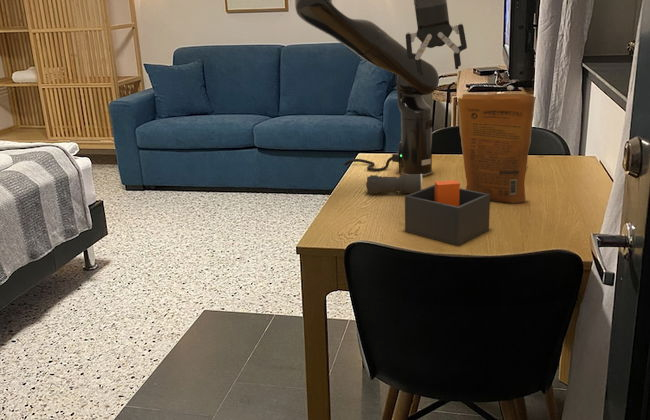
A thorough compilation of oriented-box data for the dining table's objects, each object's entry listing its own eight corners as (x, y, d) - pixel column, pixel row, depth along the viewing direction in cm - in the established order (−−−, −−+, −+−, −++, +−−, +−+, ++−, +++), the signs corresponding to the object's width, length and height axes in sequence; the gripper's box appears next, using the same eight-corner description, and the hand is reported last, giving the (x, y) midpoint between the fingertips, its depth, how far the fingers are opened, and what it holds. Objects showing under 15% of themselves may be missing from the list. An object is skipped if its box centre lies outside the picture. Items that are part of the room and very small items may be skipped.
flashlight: (365, 196, 181) (365, 177, 179) (367, 191, 186) (366, 172, 184) (422, 196, 179) (422, 177, 177) (422, 190, 184) (422, 171, 182)
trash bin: (404, 231, 154) (404, 196, 151) (436, 217, 162) (437, 183, 159) (458, 245, 144) (458, 208, 141) (489, 229, 152) (490, 194, 150)
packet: (437, 231, 151) (437, 184, 148) (434, 226, 154) (434, 181, 151) (458, 229, 152) (459, 183, 148) (455, 225, 154) (456, 179, 151)
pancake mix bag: (526, 207, 166) (531, 96, 157) (454, 198, 176) (456, 92, 167) (533, 200, 171) (539, 91, 163) (463, 191, 181) (465, 89, 173)
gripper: (400, 10, 154) (410, 79, 159) (462, -1, 151) (470, 69, 157) (400, 7, 161) (410, 73, 166) (460, -4, 158) (467, 63, 164)
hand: (439, 71), depth 161 cm, fingers open, 8 cm apart
